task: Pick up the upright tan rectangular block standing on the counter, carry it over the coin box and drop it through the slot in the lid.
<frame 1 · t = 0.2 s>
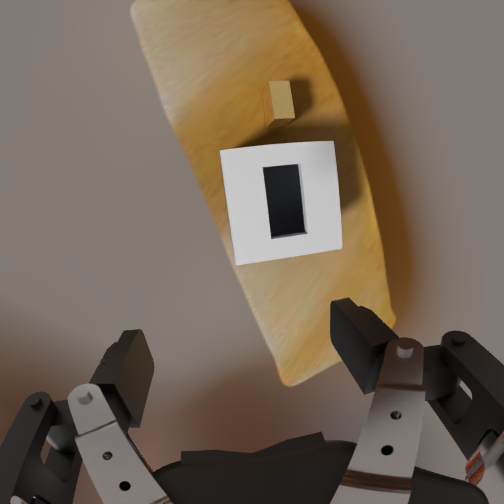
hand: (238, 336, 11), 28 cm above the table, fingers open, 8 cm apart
coin box: (269, 195, 38), on the table
tan rectangular block: (277, 105, 32), point 3 cm above the table
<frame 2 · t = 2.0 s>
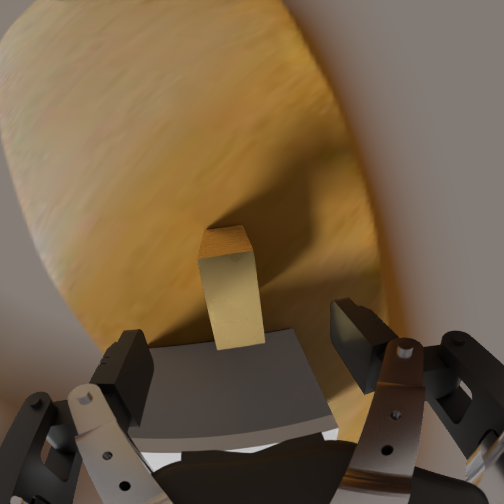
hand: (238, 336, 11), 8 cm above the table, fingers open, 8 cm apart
coin box: (228, 393, 22), on the table
tan rectangular block: (230, 280, 16), point 3 cm above the table
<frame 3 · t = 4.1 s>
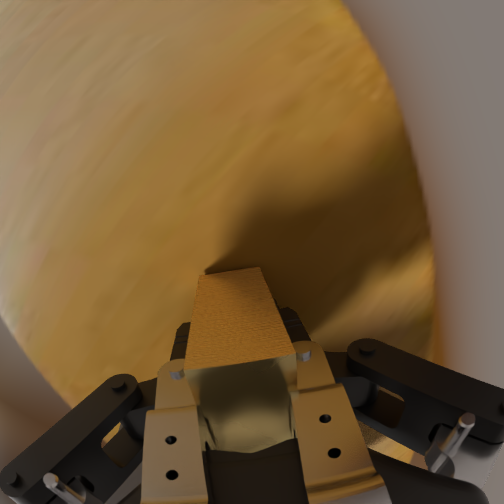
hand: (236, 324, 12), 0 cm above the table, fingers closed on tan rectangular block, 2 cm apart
coin box: (234, 460, 15), on the table
tan rectangular block: (243, 364, 9), point 3 cm above the table, touching gripper
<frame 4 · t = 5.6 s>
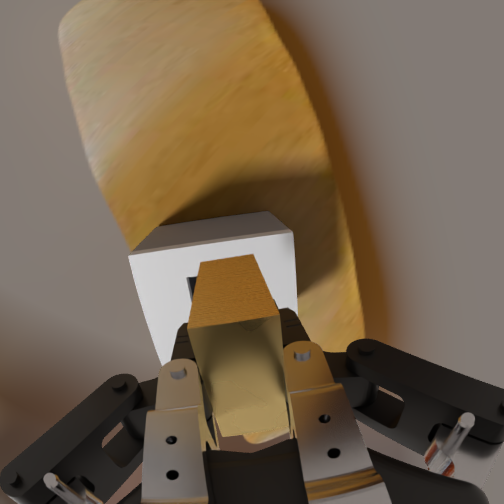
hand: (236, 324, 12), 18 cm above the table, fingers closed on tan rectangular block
coin box: (219, 271, 30), on the table
tan rectangular block: (239, 338, 11), point 19 cm above the table, touching gripper
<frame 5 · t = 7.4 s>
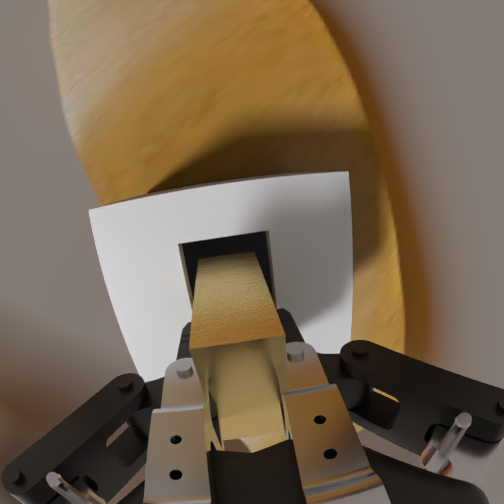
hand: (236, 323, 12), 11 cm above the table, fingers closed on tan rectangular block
coin box: (228, 255, 22), on the table
tan rectangular block: (239, 341, 10), point 13 cm above the table, tilted 6°, touching gripper
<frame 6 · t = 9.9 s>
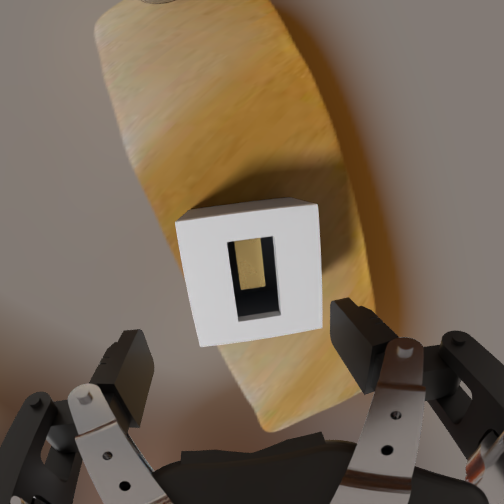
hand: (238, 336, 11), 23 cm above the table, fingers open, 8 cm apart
coin box: (245, 252, 33), on the table
tan rectangular block: (247, 256, 30), point 4 cm above the table, touching coin box
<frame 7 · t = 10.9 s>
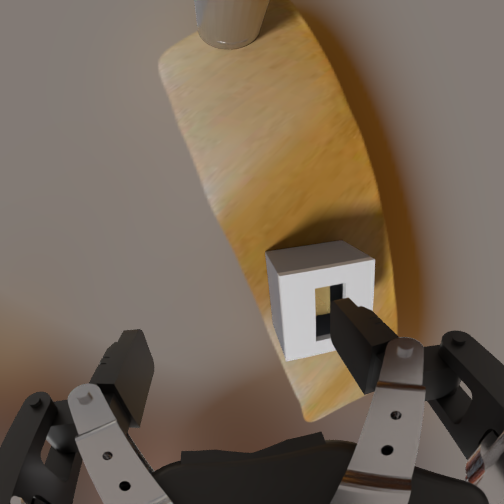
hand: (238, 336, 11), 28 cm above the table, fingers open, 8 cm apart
coin box: (307, 283, 42), on the table
tan rectangular block: (314, 289, 38), point 4 cm above the table, touching coin box
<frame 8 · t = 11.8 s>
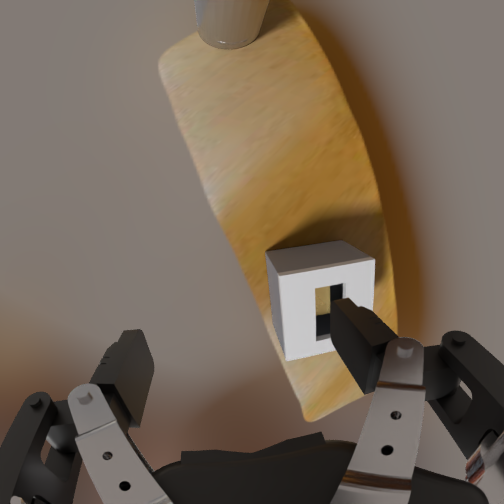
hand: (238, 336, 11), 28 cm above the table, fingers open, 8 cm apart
coin box: (307, 283, 42), on the table
tan rectangular block: (314, 289, 38), point 4 cm above the table, touching coin box
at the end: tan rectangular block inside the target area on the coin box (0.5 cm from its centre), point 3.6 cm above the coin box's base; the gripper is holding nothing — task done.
